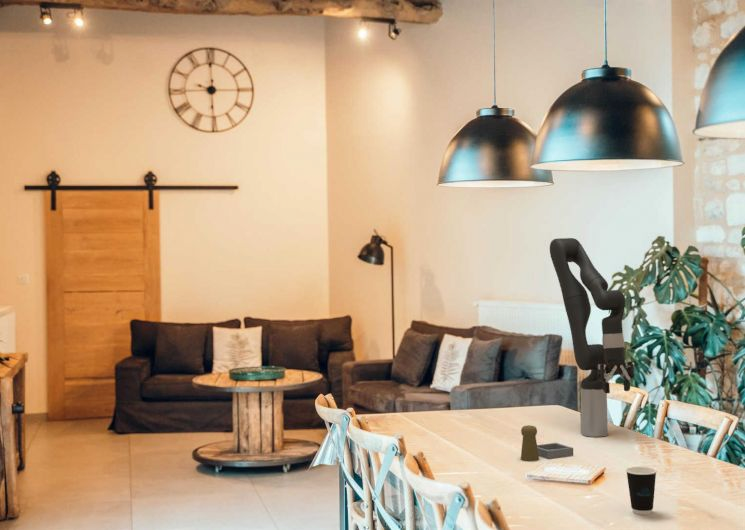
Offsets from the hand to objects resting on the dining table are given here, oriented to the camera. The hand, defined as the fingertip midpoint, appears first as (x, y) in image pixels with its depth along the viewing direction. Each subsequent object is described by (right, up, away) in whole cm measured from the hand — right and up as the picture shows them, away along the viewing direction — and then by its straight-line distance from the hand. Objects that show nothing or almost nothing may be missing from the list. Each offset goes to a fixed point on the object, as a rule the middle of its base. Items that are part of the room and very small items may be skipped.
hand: (617, 392), depth 339 cm
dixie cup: (-16, -19, -90) cm, 94 cm away
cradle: (-26, -19, -18) cm, 37 cm away
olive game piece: (-35, -19, -24) cm, 46 cm away
